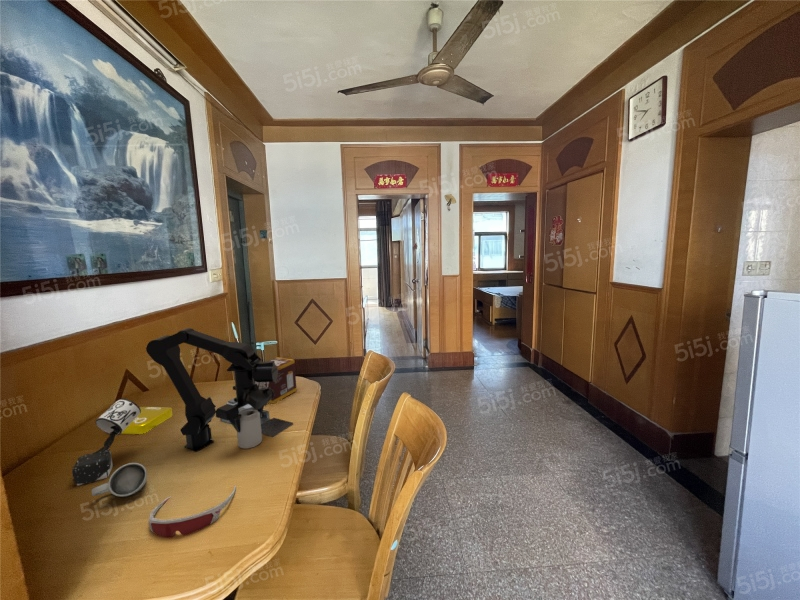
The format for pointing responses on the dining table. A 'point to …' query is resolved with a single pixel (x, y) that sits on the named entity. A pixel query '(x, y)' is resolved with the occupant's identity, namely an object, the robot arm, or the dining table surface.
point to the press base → (270, 424)
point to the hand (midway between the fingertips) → (248, 426)
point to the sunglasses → (186, 520)
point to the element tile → (148, 419)
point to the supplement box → (281, 379)
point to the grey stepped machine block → (232, 402)
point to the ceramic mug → (124, 481)
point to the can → (249, 428)
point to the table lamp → (101, 460)
